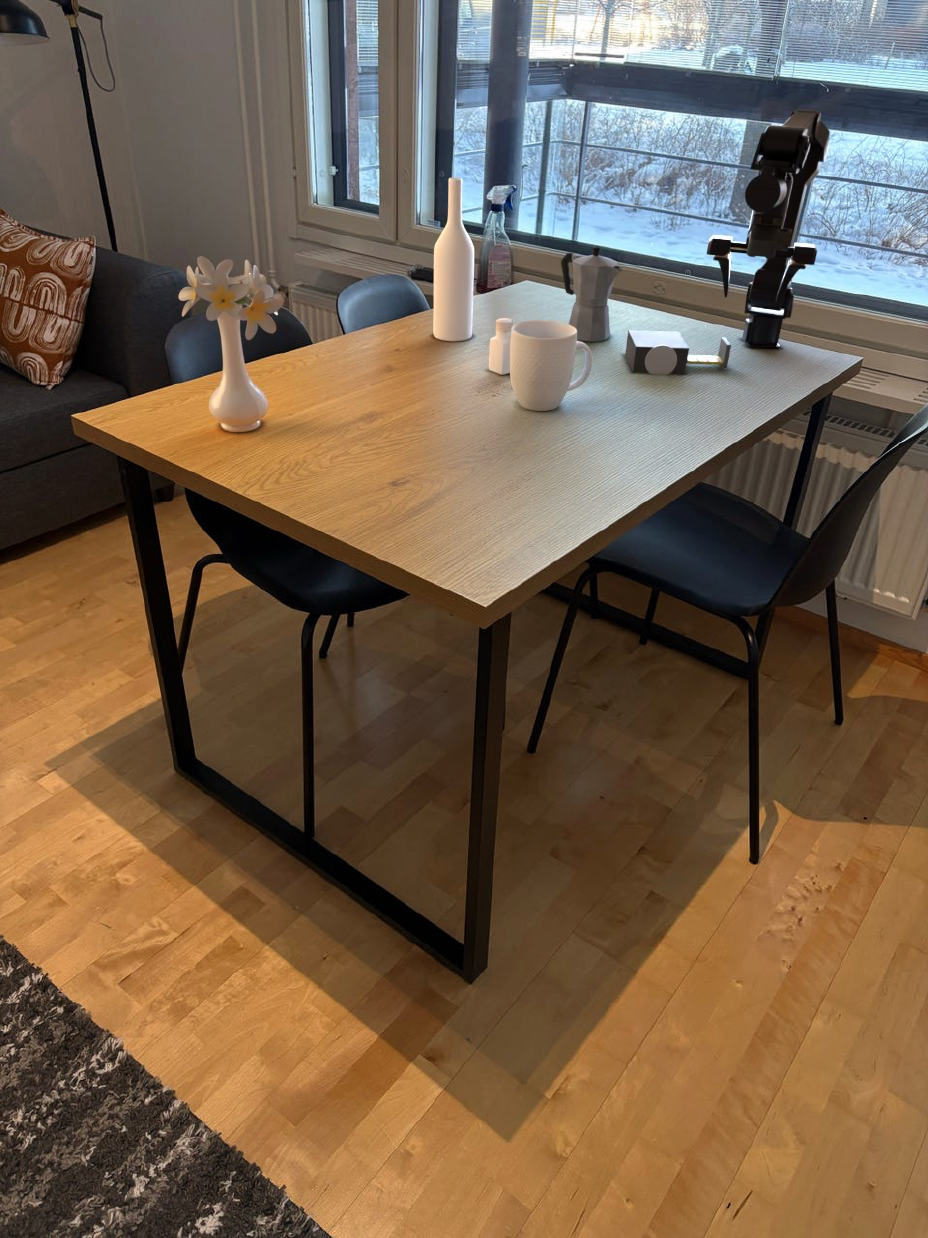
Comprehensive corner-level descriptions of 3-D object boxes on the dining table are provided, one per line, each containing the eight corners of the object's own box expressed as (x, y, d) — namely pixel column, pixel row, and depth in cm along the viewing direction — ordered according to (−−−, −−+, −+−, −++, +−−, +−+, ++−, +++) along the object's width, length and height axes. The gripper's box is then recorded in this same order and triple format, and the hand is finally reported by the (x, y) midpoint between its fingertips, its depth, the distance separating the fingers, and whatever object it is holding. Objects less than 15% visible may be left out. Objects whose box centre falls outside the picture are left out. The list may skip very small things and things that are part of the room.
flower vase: (255, 452, 137) (237, 281, 123) (175, 423, 146) (149, 260, 132) (315, 427, 146) (304, 265, 132) (236, 401, 155) (218, 246, 141)
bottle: (425, 336, 189) (426, 178, 172) (448, 328, 195) (450, 173, 178) (457, 343, 185) (460, 182, 169) (479, 335, 191) (484, 178, 174)
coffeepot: (626, 338, 192) (637, 248, 182) (598, 347, 186) (608, 254, 176) (570, 322, 201) (578, 235, 191) (542, 330, 195) (548, 241, 185)
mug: (573, 389, 164) (580, 316, 157) (601, 410, 156) (610, 333, 149) (497, 397, 160) (501, 322, 153) (522, 419, 151) (527, 340, 144)
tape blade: (721, 360, 179) (725, 337, 177) (726, 368, 175) (731, 344, 173) (672, 358, 179) (675, 335, 177) (676, 367, 175) (680, 343, 173)
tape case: (674, 358, 182) (679, 328, 179) (684, 377, 173) (690, 345, 170) (624, 357, 182) (628, 327, 179) (632, 375, 173) (636, 344, 170)
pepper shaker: (501, 376, 169) (504, 324, 164) (487, 370, 172) (489, 319, 167) (517, 371, 172) (520, 321, 166) (502, 366, 174) (505, 316, 169)
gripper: (713, 206, 154) (696, 301, 162) (827, 216, 150) (804, 313, 158) (717, 201, 164) (701, 291, 172) (824, 210, 159) (803, 302, 167)
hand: (751, 299), depth 167 cm, fingers open, 9 cm apart
